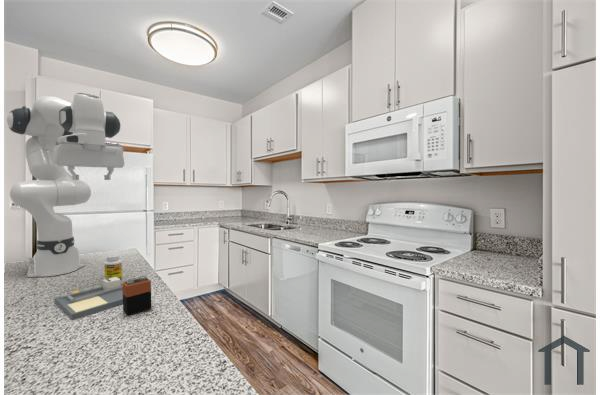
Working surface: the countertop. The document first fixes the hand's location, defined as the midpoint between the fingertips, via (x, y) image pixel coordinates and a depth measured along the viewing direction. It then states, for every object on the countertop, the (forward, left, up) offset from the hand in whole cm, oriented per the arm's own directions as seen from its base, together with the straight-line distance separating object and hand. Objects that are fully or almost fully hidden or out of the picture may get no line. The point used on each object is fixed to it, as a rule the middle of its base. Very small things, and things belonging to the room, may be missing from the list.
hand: (92, 179), depth 100 cm
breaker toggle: (+10, +2, -38) cm, 39 cm away
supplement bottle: (-3, +7, -40) cm, 40 cm away
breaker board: (+12, -3, -40) cm, 41 cm away
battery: (+29, +2, -40) cm, 49 cm away
